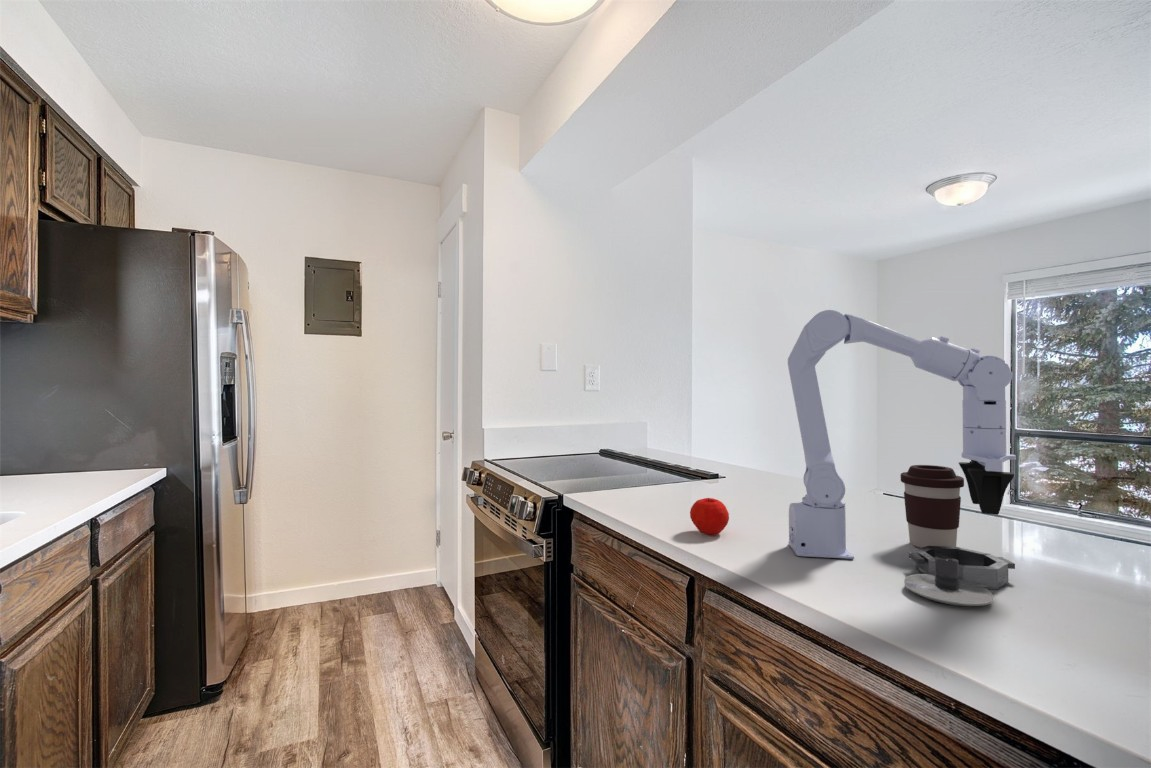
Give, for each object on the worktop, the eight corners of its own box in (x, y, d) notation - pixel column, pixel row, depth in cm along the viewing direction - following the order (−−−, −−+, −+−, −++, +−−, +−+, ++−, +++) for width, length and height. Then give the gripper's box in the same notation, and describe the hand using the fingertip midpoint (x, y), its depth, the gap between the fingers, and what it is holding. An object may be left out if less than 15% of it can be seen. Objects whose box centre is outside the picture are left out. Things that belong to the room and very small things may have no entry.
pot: (929, 585, 78) (929, 566, 78) (898, 561, 89) (898, 544, 89) (1032, 591, 75) (1032, 571, 75) (987, 565, 86) (987, 548, 86)
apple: (691, 527, 112) (690, 493, 112) (728, 529, 110) (728, 495, 110) (689, 537, 105) (688, 501, 105) (729, 540, 102) (729, 503, 102)
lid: (924, 608, 70) (923, 569, 70) (892, 580, 81) (892, 546, 81) (1010, 614, 68) (1010, 574, 68) (967, 585, 79) (966, 550, 79)
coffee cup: (976, 556, 92) (975, 472, 92) (915, 552, 94) (913, 470, 94) (948, 539, 101) (947, 463, 101) (893, 537, 103) (891, 463, 103)
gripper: (1027, 431, 78) (1028, 521, 78) (1003, 425, 90) (1004, 502, 90) (969, 430, 81) (970, 516, 81) (954, 424, 94) (955, 498, 94)
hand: (984, 508), depth 86 cm, fingers open, 7 cm apart
